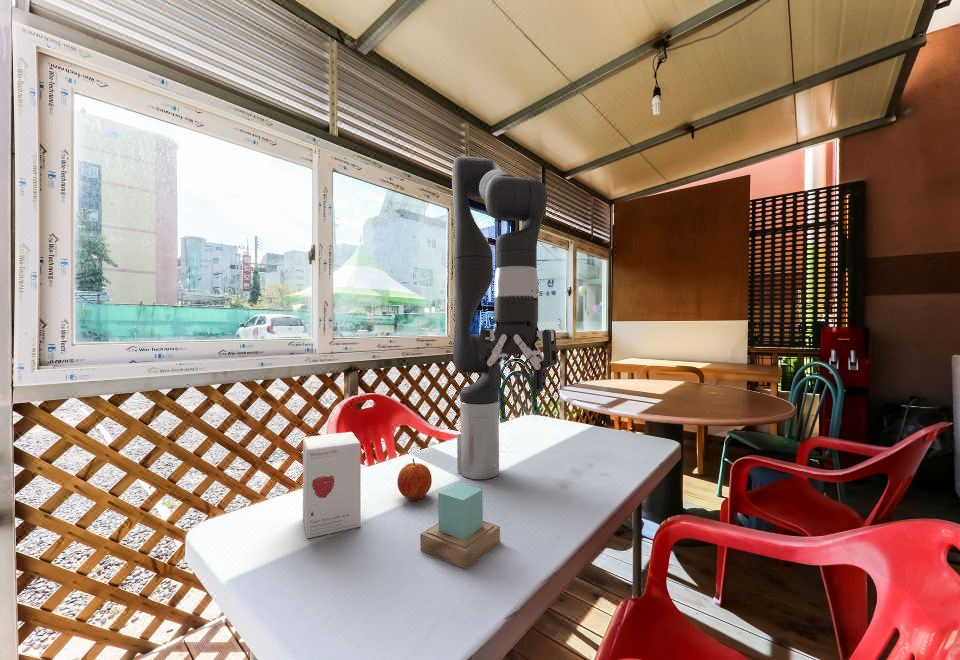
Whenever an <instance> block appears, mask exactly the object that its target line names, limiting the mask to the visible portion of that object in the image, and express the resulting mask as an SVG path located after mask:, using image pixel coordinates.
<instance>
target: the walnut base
mask: <svg viewBox="0 0 960 660" xmlns="http://www.w3.org/2000/svg"><path fill="white" fill-rule="evenodd" d="M500 528H501V527H500V525H497V524H496V523H495V524H494V523H491V522H488V521H485V520H483V527H481V528H480V529H479V530H477V531H476V532H474V533H473V534H472V535H470V536H469V537H467V538H466V539H465V540H462V539H459V538H457V537H454V536H451V535H449V534H446V533H443V532H441V531H439V522H438V523H436V524H434V525H432V526H431V527H429V528H428V529H426V530H425V531H422V532H420V533H419V534H420V537H419V538H420V539H419V540H420V544H419V545H420V548H419V549H420V551H422V552H424V553H427V554H430V555H432V556H434V557H437V558H438V559H441V560H444V561H445V562H448V563H450V564H453V565H455V566H458V567H460V568H462V569H465V570H468V569H469V568H470V567H471V566H472V565H473V564H475V563H476V562H477V561H478V560H480V558H482V557H483V556H484V555H486V554H487V553H489V551H490V550H492V549H493V548H494V547H495V546H497V544H499V543H500V542H501V534H500V533H501V529H500Z"/></svg>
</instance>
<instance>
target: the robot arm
mask: <svg viewBox="0 0 960 660" xmlns="http://www.w3.org/2000/svg"><path fill="white" fill-rule="evenodd" d="M451 171H452V172H451V173H452V174H451V185H452V199H453V200H452V201H453V215H454V216H453V218H454V252H453V253H454V254H453V255H454V256H453V258H454V259H453V265H454V267H453V270H454V295H455V300H454V301H455V305H454V307H455V308H454V309H455V310H454V311H455V312H454V313H455V314H454V330H453V348H452V351H453V352H452V353H453V354H452V357H453V366H454V368H455V370H456V372H458V374H481V376H480V378H478V380H477V381H475V382H473V383H472V384H470V385H467V386H465V387H463V388H462V389H461V390H460V394H459V399H460V400H459V401H460V402H459V403H460V405H459V406H460V407H459V408H460V411H459V415H460V431H458V432H457V435H456V437H457V438H456V444H457V445H456V446H457V447H456V452H457V456H456V458H457V459H456V460H457V466H456V469H457V473H459V474H461V475H462V476H463V477H465V478H468V479H472V480H488V479H491V478H495V477H497V476H498V475H499V473H500V430H499V429H500V427H499V426H500V424H499V423H500V419H499V418H500V417H499V415H500V414H499V410H500V409H499V405H500V403H499V393H500V387H501V385H502V382H501V381H502V376H501V375H502V369H501V368H502V367H501V363H502V362H503V359H504V358H505V357H506V356H508V355H517V356H518V355H519V356H524V357H525V358H526V359H527V360H529V362H530V363H531V365H532V366H533V368H534V369H533V370H532V391H533V393H542V392H543V390H545V388H546V385H547V381H546V379H547V373H546V371H547V369H548V368H551V367H552V366H553V367H554V366H557V364H558V352H557V351H558V350H557V348H558V347H557V335H556V334H557V333H556V330H555V329H552V328H551V329H549V328H547V329H542V330H540V329H539V327H538V322H539V291H540V289H539V278H538V268H537V267H538V265H537V264H538V263H537V261H538V260H537V258H538V257H537V251H538V250H537V249H538V248H537V247H538V239H539V235H540V230H541V226H542V221H543V218H544V215H545V212H546V208H547V204H548V192H547V188H546V187H545V184H544V183H543V182H542V180H539V179H536V178H528V177H518V176H514V175H513V174H511V173H510V172H506V171H504V170H503V168H502V167H501V166H500V165H499V163H498V162H496V161H495V160H493V159H490V158H486V157H475V156H457V157H456V158H455V159H454V161H453V164H452V169H451ZM469 199H475V200H476V199H478V200H483V202H484V204H485V209H486V212H487V214H488V216H489V217H491V218H492V219H495V220H501V221H502V220H503V221H515V222H516V221H518V222H522V227H521V229H520V230H518V231H517V230H516V231H510V232H506V233H502V234H500V235H499V236H498V237H497V238H496V241H495V276H494V275H493V274H494V270H493V269H494V263H493V261H494V260H493V258H494V257H493V256H494V255H493V250H492V247H491V245H490V243H489V242H488V240H487V238H486V237H485V235H484V233H483V232H482V230H481V229H480V228H479V226H478V224H477V222H476V221H475V219H474V216H473V213H472V210H471V207H470V202H469ZM493 277H494V278H493ZM493 279H494V283H493V284H494V286H493V287H494V290H493V291H494V295H493V297H494V298H493V299H494V305H493V307H494V314H493V315H494V318H493V320H494V323H495V329H493V328H482V329H480V333H479V334H476V333H475V334H471V328H472V327H471V325H472V322H473V317H474V316H475V312H476V311H477V308H478V307H479V305H480V303H481V302H482V300H483V298H484V297H485V295H486V293H487V292H488V290H489V288H490V286H491V284H492V282H493ZM538 340H539V341H540V342H541V343H542V351H543V352H542V351H541V349H540V348H539V347H538V345H537V342H538Z"/></svg>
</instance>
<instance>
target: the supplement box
mask: <svg viewBox="0 0 960 660" xmlns="http://www.w3.org/2000/svg"><path fill="white" fill-rule="evenodd" d="M361 459H362V458H361V442H360V440H359V439H358V438H357V437H356V436H355V433H353V432H352V431H348V432H347V431H346V432H337V433H329V434H321V435H311V436H304V437H303V438H302V520H303V525H304V526H303V527H304V531H305V537H306V539H312V538H316V537H319V536H321V537H322V536H325V535H330V534H333V533H339V532H343V531H346V530H347V531H348V530H351V529H355V528H360V527H361V526H362V523H361V521H362V520H361V519H362V518H361V517H362V516H361V514H362V512H361V509H362V508H361V504H362V503H361V502H362V501H361V499H362V497H361V495H362V493H361V487H362V486H361V482H362V481H361V479H362V478H361V477H362V476H361V473H362V472H361V471H362V470H361V465H362V464H361Z"/></svg>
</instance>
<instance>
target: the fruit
mask: <svg viewBox="0 0 960 660" xmlns="http://www.w3.org/2000/svg"><path fill="white" fill-rule="evenodd" d="M432 480H433V478H432V473H431V471H430V469H429V468H428V467H427V465H425V464H423V463H419V462H415V459H414V458H412V463H411V462H410V463H408V464H405V465H404V466H403V467H402V468H401V470H400V471H399V473H398V476H397V481H396V483H397V484H396V485H397V489H398V491H399V493H400V494H401V495H402V496H403V497H405V498H406V499H409V500H412V501H415V500H418V499H422V498H423V497H425V496H426V495H427V494H428V492H429V491H430V489H431V486H432Z"/></svg>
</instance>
